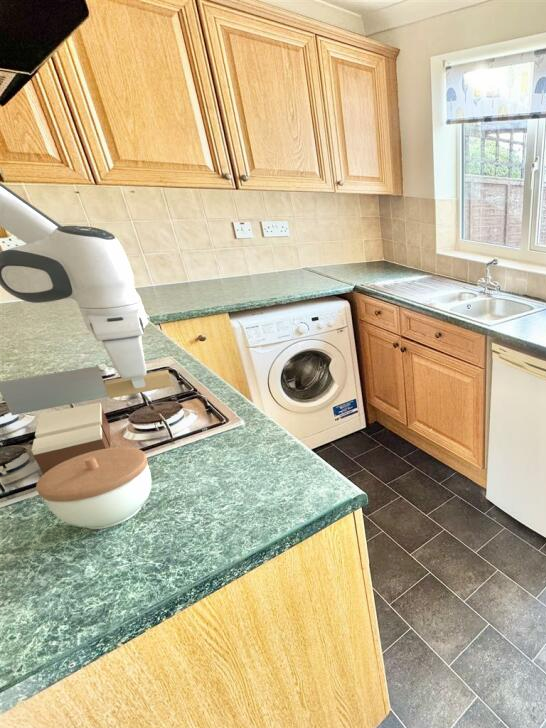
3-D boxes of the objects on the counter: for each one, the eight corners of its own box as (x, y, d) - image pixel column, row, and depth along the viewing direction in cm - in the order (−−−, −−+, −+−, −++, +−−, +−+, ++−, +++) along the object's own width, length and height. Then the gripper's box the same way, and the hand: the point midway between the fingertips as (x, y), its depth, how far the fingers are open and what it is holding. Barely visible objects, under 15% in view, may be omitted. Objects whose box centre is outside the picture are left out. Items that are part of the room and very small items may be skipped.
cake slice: (45, 478, 76) (31, 450, 74) (47, 465, 79) (33, 438, 77) (111, 460, 82) (100, 434, 79) (110, 449, 85) (100, 424, 82)
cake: (47, 461, 80) (34, 435, 78) (51, 439, 87) (39, 414, 84) (110, 446, 86) (100, 420, 83) (109, 426, 92) (100, 402, 90)
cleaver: (11, 417, 74) (-6, 384, 71) (13, 412, 76) (-4, 380, 73) (173, 386, 88) (164, 357, 85) (171, 382, 90) (162, 354, 87)
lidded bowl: (126, 542, 64) (100, 484, 60) (35, 543, 63) (2, 484, 58) (178, 488, 76) (160, 437, 71) (102, 488, 74) (79, 436, 70)
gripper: (93, 307, 84) (117, 369, 90) (93, 334, 71) (121, 406, 77) (134, 303, 88) (154, 363, 94) (141, 328, 75) (164, 397, 81)
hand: (139, 383), depth 85 cm, fingers closed on cleaver, 2 cm apart
